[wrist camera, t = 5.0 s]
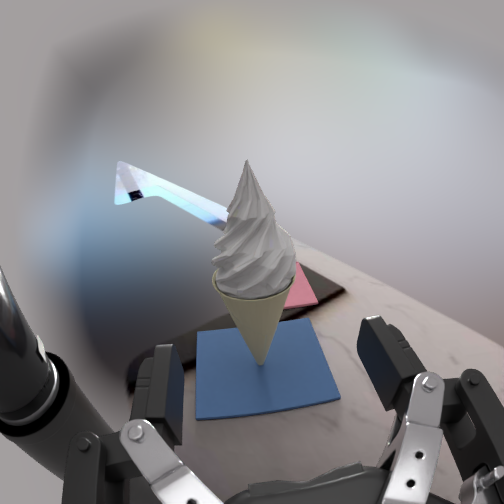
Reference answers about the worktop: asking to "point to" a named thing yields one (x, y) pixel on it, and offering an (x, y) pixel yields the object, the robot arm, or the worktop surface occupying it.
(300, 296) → the rose mat
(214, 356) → the blue mat
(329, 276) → the worktop surface
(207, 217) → the worktop surface
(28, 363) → the robot arm
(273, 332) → the ice cream cone
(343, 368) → the worktop surface
